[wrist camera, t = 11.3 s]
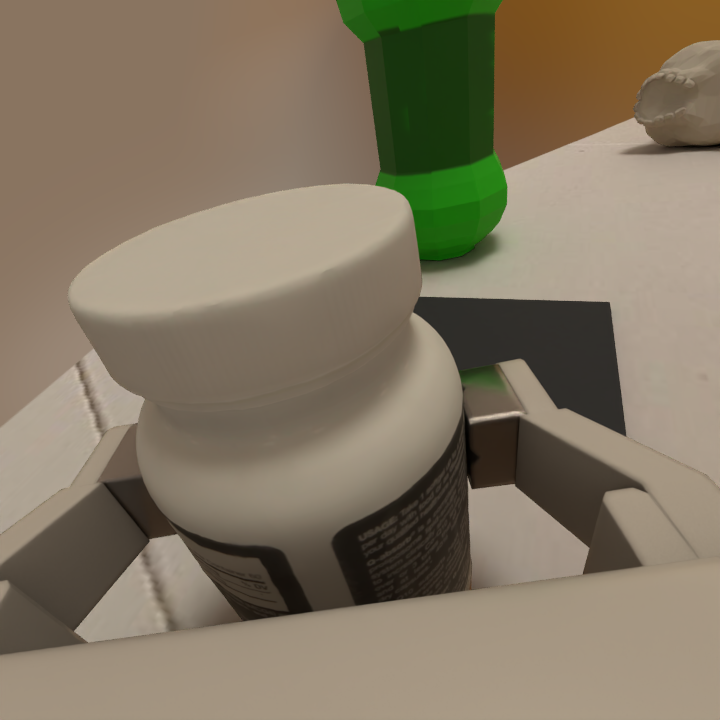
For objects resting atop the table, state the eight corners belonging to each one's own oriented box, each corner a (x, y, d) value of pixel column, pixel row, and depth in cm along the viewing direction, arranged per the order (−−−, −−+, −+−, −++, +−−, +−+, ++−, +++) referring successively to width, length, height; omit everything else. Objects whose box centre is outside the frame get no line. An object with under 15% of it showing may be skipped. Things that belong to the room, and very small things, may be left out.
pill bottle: (420, 474, 14) (378, 159, 8) (518, 661, 9) (568, 227, 4) (256, 532, 13) (91, 227, 8) (272, 765, 9) (-118, 420, 3)
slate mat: (197, 384, 22) (194, 378, 22) (289, 297, 30) (287, 292, 29) (625, 449, 14) (627, 441, 14) (608, 308, 22) (609, 301, 21)
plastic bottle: (351, 260, 33) (254, -241, 19) (436, 218, 38) (407, -206, 24) (449, 287, 27) (409, -457, 12) (537, 232, 32) (579, -347, 17)
